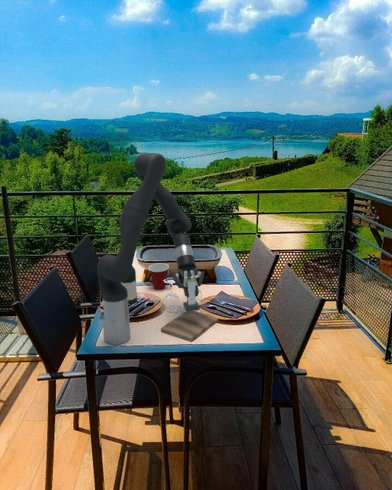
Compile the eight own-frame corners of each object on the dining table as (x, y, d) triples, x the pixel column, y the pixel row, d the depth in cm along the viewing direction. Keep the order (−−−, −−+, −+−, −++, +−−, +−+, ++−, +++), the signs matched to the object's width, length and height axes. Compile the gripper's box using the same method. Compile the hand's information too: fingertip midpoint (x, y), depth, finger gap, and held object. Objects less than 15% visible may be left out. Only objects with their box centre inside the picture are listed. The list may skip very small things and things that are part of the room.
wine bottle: (134, 309, 166) (130, 246, 158) (117, 308, 167) (112, 245, 159) (140, 302, 174) (137, 241, 166) (124, 300, 175) (119, 240, 167)
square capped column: (199, 309, 147) (199, 279, 143) (186, 311, 145) (185, 281, 142) (196, 304, 152) (195, 274, 148) (183, 305, 151) (182, 276, 147)
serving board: (191, 341, 138) (191, 338, 137) (160, 331, 146) (160, 328, 145) (218, 320, 154) (218, 317, 153) (188, 312, 162) (188, 309, 161)
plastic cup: (146, 291, 186) (145, 269, 183) (152, 283, 196) (151, 262, 193) (167, 292, 184) (166, 270, 181) (172, 284, 194) (171, 263, 191)
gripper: (169, 255, 148) (176, 294, 140) (202, 252, 152) (211, 290, 143) (167, 263, 155) (173, 301, 147) (199, 260, 158) (207, 297, 150)
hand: (192, 296), depth 145 cm, fingers closed on square capped column, 3 cm apart
